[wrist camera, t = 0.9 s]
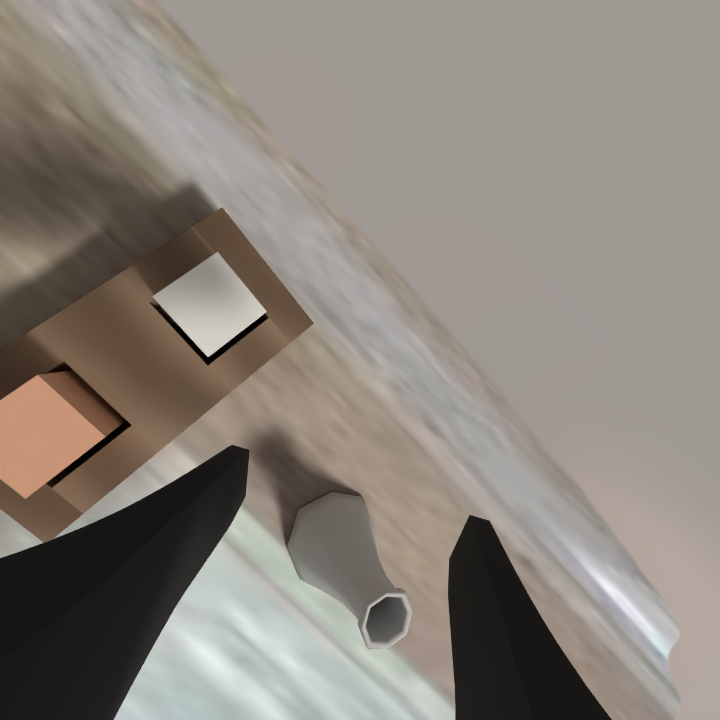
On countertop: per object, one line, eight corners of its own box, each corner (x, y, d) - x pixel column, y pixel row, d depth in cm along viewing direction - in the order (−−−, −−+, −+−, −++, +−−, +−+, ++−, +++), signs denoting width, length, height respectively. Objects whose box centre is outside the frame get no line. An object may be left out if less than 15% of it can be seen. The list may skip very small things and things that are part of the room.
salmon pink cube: (63, 468, 20) (25, 499, 16) (4, 418, 19) (-53, 436, 15) (126, 420, 22) (105, 436, 17) (73, 370, 21) (37, 374, 16)
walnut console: (70, 516, 22) (46, 544, 19) (-60, 410, 20) (-113, 422, 17) (302, 326, 28) (313, 323, 24) (220, 225, 25) (222, 207, 22)
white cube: (208, 356, 23) (207, 357, 19) (163, 307, 22) (152, 296, 18) (257, 318, 24) (266, 311, 20) (216, 269, 23) (217, 252, 19)
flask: (287, 591, 28) (325, 711, 18) (285, 498, 27) (322, 572, 18) (373, 567, 30) (443, 661, 21) (371, 483, 30) (441, 540, 21)
